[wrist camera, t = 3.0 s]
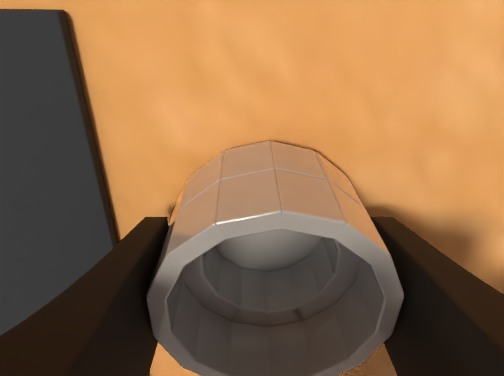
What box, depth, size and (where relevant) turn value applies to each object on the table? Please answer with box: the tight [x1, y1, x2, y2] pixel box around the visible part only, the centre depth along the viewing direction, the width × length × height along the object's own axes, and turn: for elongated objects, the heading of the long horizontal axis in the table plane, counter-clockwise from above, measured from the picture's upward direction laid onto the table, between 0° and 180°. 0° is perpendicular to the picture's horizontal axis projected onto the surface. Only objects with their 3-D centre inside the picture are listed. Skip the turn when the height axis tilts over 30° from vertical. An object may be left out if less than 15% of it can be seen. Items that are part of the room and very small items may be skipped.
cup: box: [146, 141, 404, 376], centre depth 10 cm, size 6×6×4 cm
